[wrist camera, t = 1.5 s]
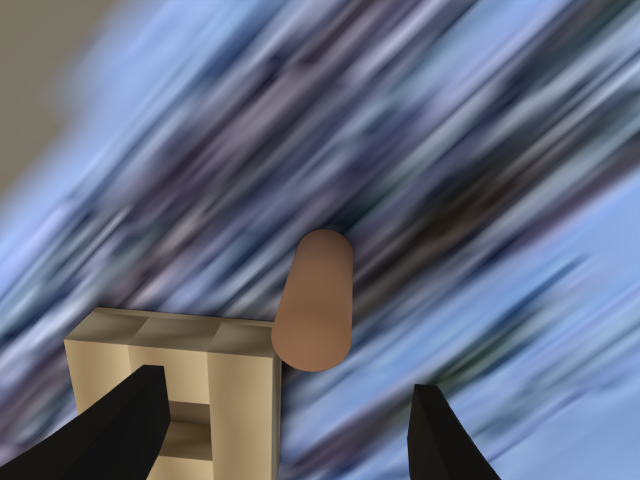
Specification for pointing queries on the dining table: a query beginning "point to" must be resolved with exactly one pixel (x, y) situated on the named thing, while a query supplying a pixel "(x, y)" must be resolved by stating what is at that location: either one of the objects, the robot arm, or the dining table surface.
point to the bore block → (191, 386)
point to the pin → (316, 304)
